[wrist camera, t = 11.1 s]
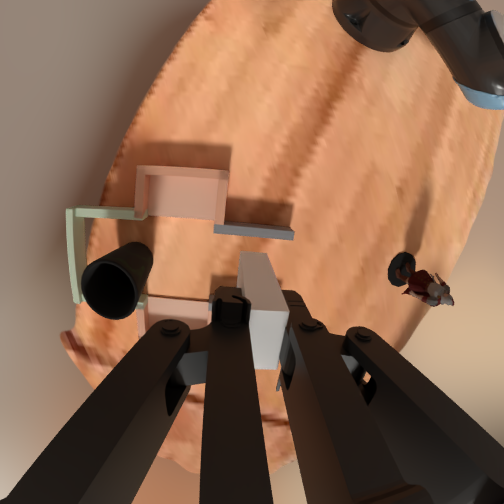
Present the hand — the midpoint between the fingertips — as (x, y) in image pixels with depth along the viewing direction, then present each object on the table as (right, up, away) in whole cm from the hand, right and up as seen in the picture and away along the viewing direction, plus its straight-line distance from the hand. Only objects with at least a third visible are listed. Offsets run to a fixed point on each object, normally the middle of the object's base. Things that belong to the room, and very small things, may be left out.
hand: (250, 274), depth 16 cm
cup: (-18, 0, +24) cm, 30 cm away
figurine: (+28, -2, +30) cm, 41 cm away
